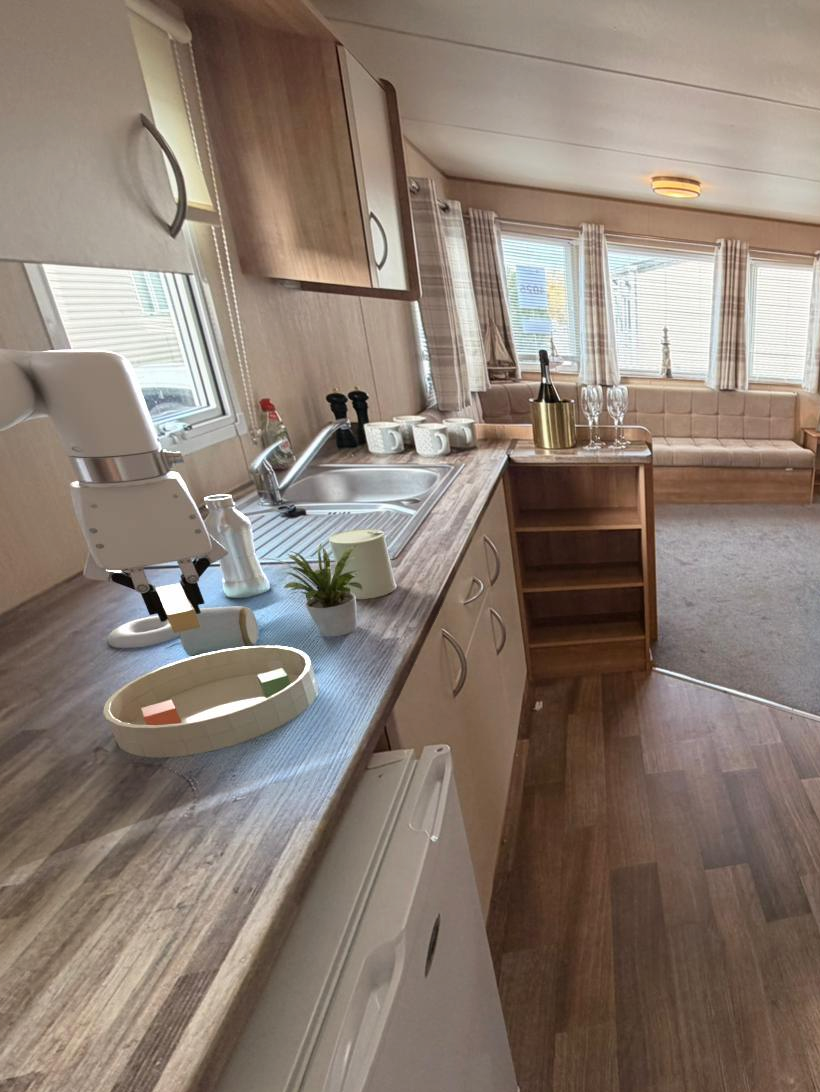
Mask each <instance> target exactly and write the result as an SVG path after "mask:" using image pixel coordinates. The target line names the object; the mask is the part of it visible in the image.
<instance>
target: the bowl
mask: <svg viewBox="0 0 820 1092" xmlns="http://www.w3.org/2000/svg"><path fill="white" fill-rule="evenodd" d="M280 668H283V670H284V671H285V672H286V674H287V675H288V677H289V680H290V685H289V686H287V687H286V688H285V689H283V690H281V691H279V692H277V693H276V694H274V695H272V696H270V697H268V698H266V697H265V695H264V694H263V692H262V689H261V686H260V683H259V680H258V677H257V675H259V674H263V673H266V672H270V671H273V670H277V669H280ZM319 690H320V687H319V684H318V681H317V677H316V674H315V669H314V668H313V664H312V661H311V657H310V655H308V654H306V652H304V651H302V650H300V649H297V648H295V647H289V646H284V645H254V646H248V647H239V648H232V649H225V650H220V651H215V652H211V653H206V654H202V655H198V656H195V657H192V656H190V657H188V658H184V659H180V660H178V661H175V662H172V663H169V664H167V665H164V666H160V667H158V668H156V669H154V670H152V671H149V672H147V673H145V674H142V675H140V676H139V677H137V678H135V679H133V680H131V681H130V682H128V683H126V684H124V685H123V686H122V687H120V688H119V689H117V690H116V691H115V692H114V693H113V694H111V696H110V697H109V698H108V699H107V700H106V702H104V705H103V710H102V715H103V716H104V717H105V721H106V722H107V724H108V727H109V729H110V731H111V734H112V735H113V737H114V739H115V741H116V743H117V745H118V747H119V749H121V750H122V751H124V752H126V753H127V754H130V755H134V756H137V757H143V758H153V759H154V758H157V759H158V758H159V759H162V758H178V757H187V756H194V755H199V754H205V753H209V752H214V751H218V750H222V749H225V748H229V747H233V746H235V745H238V744H242V743H245V742H249V741H250V740H253V739H256V738H258V737H260V736H264V735H265V734H268V733H270V732H272V731H274V730H276V729H278V728H280V727H282V726H284V725H286V724H288V723H289V722H291V721H292V720H294V719H295V718H297V717H298V716H300V715H301V714H302V713H304V712H305V711H306V710H307V709H308V708H309V707H310V706H311V705H312V704H313V703H314V701H316V698H317V697H318V695H319ZM168 700H172V701H173V703H174V706H175V708H176V711H177V713H178V715H179V718H180V720H181V723H178V724H166V725H147V724H146V721H145V719H144V717H143V714H142V711H141V708H143V707H147V706H150V705H154V704H157V703H161V702H164V701H168Z"/></svg>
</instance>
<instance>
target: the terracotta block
mask: <svg viewBox="0 0 820 1092" xmlns="http://www.w3.org/2000/svg"><path fill="white" fill-rule="evenodd" d="M141 711H142V714H143V717H144V719H145V721H146V724H147V725H166V724H178V723H181V720H180V718H179V715H178V713H177V711H176V708H175V706H174V703H173V701H172V700H168V701H164V702H161V703H157V704H154V705H150V706H147V707H143V708H141Z"/></svg>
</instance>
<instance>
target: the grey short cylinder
mask: <svg viewBox="0 0 820 1092" xmlns="http://www.w3.org/2000/svg"><path fill="white" fill-rule="evenodd" d="M199 609H200V612H201V613H200V614H196V615H197V618H198V621H199V623H200V626H201V627H199V628H195V629H190V630H186V631H182V632H179V635H180V636H179V639H180V644H181V646H182V649H183V651H185V653H186V654H187V655H188V656H189V657H195V656H198V655H202V654H206V653H211V652H215V651H220V650H225V649H232V648H239V647H248V646H256V644H257V643H258V639H259V627H258V622H257V618H256V616H255V612H253V610H252V609H250V608H249V607H247V606H240V605H239V606H238V605H232V606H217V607H199Z"/></svg>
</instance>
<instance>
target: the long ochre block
mask: <svg viewBox="0 0 820 1092" xmlns="http://www.w3.org/2000/svg"><path fill="white" fill-rule="evenodd" d="M156 589H157V592H158V594H159V597H160V599H161V602H162V604H163V605H162V606H163V608H164V611H165V613H166V616H167V618H168V621H169V623H170V625H171V627H172V630H173V632H174V633H177V632H182V631H186V630H190V629H195V628H199V627H201V626H200V623H199V621H198V618H197V615H196V613H195V610H194V608H193V606H192V605H191V603H190V601H189V599H187V597H186V595H185V594H184V591H183V589H182V586H181V584H180V583H175V584H169V585H163V586H158V587H156Z"/></svg>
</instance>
